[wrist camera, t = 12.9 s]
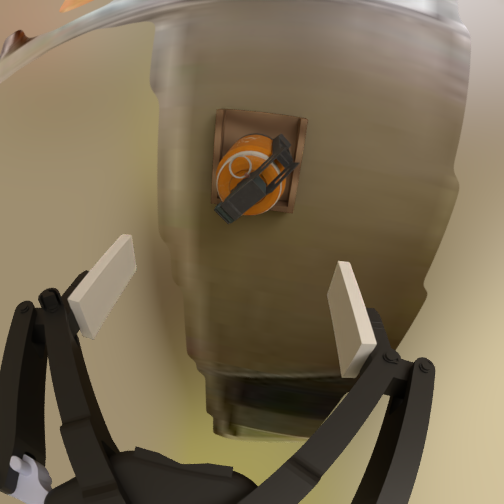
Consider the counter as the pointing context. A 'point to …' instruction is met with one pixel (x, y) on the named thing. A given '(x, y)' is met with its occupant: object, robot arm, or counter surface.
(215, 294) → the counter surface
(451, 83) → the counter surface
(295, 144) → the cradle
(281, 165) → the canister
